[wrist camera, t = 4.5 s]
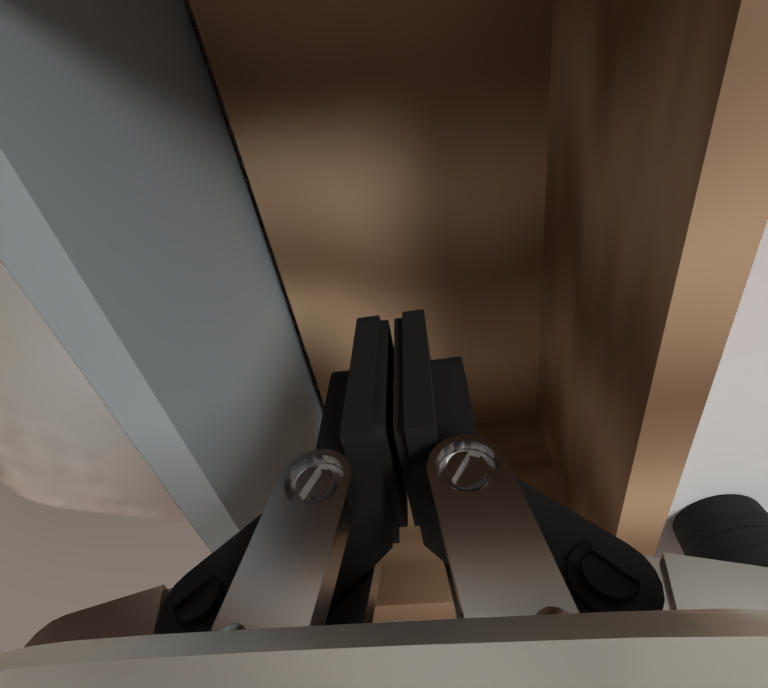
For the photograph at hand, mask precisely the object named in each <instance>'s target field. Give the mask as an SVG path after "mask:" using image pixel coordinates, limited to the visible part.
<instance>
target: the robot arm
mask: <svg viewBox="0 0 768 688" xmlns="http://www.w3.org/2000/svg"><path fill="white" fill-rule="evenodd" d="M407 494H408V499H409V503H410V507H411V512H412V516H413V520H414V525H415V526H420V530H421V535H422V539H423V544H424V546H426V547H427V548H428V549H429V550H430V551H431V552H433V553H434V554H435V555H436V556H437V557H439V558H440V559H441V560H442V561H443V563H444V568H445V573H446V577H447V581H448V585H449V589H450V593H451V597H452V601H453V605H454V610H455V614H456V618H457V619H441V620H421V621H401V622H381V623H372V622H373V616H374V610H375V605H376V599H377V593H378V588H379V582H380V576H381V565H382V562H381V559H382V558H383V557H384V556H385V555H386V554H387V553H388V552H389V551H390V550H391V549H392V548H393V543H399V528H400V527H407V526H408V499H407ZM0 688H768V567H762V566H755V565H748V564H741V563H734V562H727V561H720V560H713V559H706V558H699V557H693V556H686V555H679V554H672V553H665V552H663V554H662V557H661V558H658V557H651V556H644V555H643V554H641V553H640V552H639V551H637V550H636V549H635V548H633V547H632V546H630V545H629V544H628V543H626V542H624V541H622V540H621V539H619V538H617V537H616V536H614V535H612V534H611V533H609V532H607V531H605V530H604V529H602V528H600V527H599V526H597V525H595V524H594V523H592V522H590V521H589V520H587V519H585V518H583V517H582V516H580V515H578V514H577V513H575V512H573V511H572V510H570V509H568V508H566V507H565V506H563V505H561V504H560V503H558V502H556V501H555V500H553V499H551V498H549V497H548V496H546V495H544V494H543V493H541V492H539V491H538V490H536V489H534V488H533V487H531V486H529V485H527V484H526V483H524V482H522V481H521V480H519V479H517V478H516V477H515V474H514V472H513V470H512V468H511V466H510V464H509V462H508V459H507V457H506V455H505V454H504V453H503V451H502V450H501V448H500V447H499V446H497V445H496V444H495V443H494V442H492V441H491V440H489V439H486V438H484V437H481V436H478V433H477V429H476V424H475V419H474V414H473V409H472V404H471V399H470V395H469V390H468V385H467V380H466V375H465V370H464V365H463V361H462V357H461V356H460V357H452V358H444V359H436V360H431V356H430V349H429V342H428V335H427V328H426V321H425V314H424V309H420V310H412V311H405V312H402V318H396V319H394V345H393V340H392V335H391V330H390V325H389V321H388V320H381V319H380V316H379V315H376V316H369V317H361V318H357V321H356V328H355V335H354V341H353V348H352V355H351V361H350V368H349V370H346V371H338V372H333V373H332V374H331V377H330V381H329V386H328V391H327V395H326V400H325V405H324V410H323V415H322V420H321V425H320V430H319V435H318V440H317V444H316V449H315V450H312V451H309V452H306V453H303V454H302V455H300V456H298V457H297V458H295V459H293V460H292V461H291V462H290V463H289V464H288V465H287V466H286V467H285V468H284V469H283V471H282V473H281V474H280V476H279V478H278V480H277V482H276V484H275V487H274V489H273V491H272V493H271V496H270V498H269V500H268V502H267V505H266V507H265V509H264V511H263V513H262V514H260V515H259V516H258V517H257V518H255V519H254V520H253V521H252V522H250V523H249V524H248V525H247V526H245V527H244V528H243V529H242V530H240V531H239V532H238V533H237V534H235V535H234V536H233V537H232V538H230V539H229V540H228V541H227V542H225V543H224V544H223V545H222V546H221V547H219V548H218V549H217V550H216V551H214V552H213V553H212V554H211V555H209V556H208V557H207V558H206V559H204V560H203V561H202V562H201V563H199V564H198V565H197V566H196V567H194V568H193V569H192V570H191V571H189V572H188V573H187V574H186V575H185V576H184V577H183V578H182V579H181V580H180V581H179V582H178V583H176V584H175V586H174V587H173V588H171V589H167V588H166V587H165V586H164V585H161V586H158V587H155V588H151V589H148V590H145V591H142V592H139V593H135V594H132V595H129V596H126V597H122V598H119V599H116V600H112V601H109V602H106V603H102V604H99V605H96V606H92V607H89V608H86V609H83V610H79V611H76V612H73V613H70V614H66V615H64V616H62V617H60V618H57V619H55V620H53V621H51V622H50V623H48V624H47V625H46V626H45V627H43V628H42V629H41V630H39V631H38V632H37V633H36V634H35V635H34V636H33V637H32V638H31V639H30V641H29V642H28V643H27V644H26V645H25V646H24V647H23V648H20V649H16V650H11V651H7V652H2V653H0Z"/></svg>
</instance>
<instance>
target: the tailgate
mask: <svg viewBox="0 0 768 688" xmlns="http://www.w3.org/2000/svg"><path fill="white" fill-rule="evenodd" d="M0 260H1V262H2V263H3V264H4V266H5V267H6V268H7V270H8V271H9V273H10V274H11V275H12V277H13V278H14V280H15V281H16V282H17V284H18V285H19V286H20V288H21V289H22V291H23V292H24V293H25V295H26V296H27V298H28V299H29V300H30V302H31V303H32V304H33V306H34V307H35V309H36V310H37V311H38V313H39V314H40V315H41V317H42V318H43V320H44V321H45V322H46V324H47V325H48V327H49V328H50V329H51V331H52V332H53V333H54V335H55V336H56V338H57V339H58V340H59V342H60V343H61V345H62V346H63V347H64V349H65V350H66V351H67V353H68V354H69V356H70V357H71V358H72V360H73V361H74V363H75V364H76V365H77V367H78V368H79V369H80V371H81V372H82V374H83V375H84V376H85V378H86V379H87V381H88V382H89V383H90V385H91V386H92V387H93V389H94V390H95V392H96V393H97V394H98V396H99V397H100V399H101V400H102V401H103V403H104V404H105V405H106V407H107V408H108V410H109V411H110V412H111V414H112V415H113V417H114V418H115V419H116V421H117V422H118V423H119V425H120V426H121V428H122V429H123V430H124V432H125V433H126V435H127V436H128V437H129V439H130V440H131V441H132V443H133V444H134V446H135V447H136V448H137V450H138V451H139V453H140V454H141V455H142V457H143V458H144V459H145V461H146V462H147V464H148V465H149V466H150V468H151V469H152V471H153V472H154V473H155V475H156V476H157V477H158V479H159V480H160V482H161V483H162V484H163V486H164V487H165V489H166V490H167V491H168V493H169V494H170V495H171V497H172V498H173V500H174V501H175V502H176V504H177V505H178V507H179V508H180V509H181V511H182V512H183V513H184V515H185V516H186V518H187V519H188V520H189V522H190V523H191V525H192V526H193V527H194V529H195V530H196V531H197V533H198V534H199V535H200V537H201V538H202V540H203V541H204V543H205V544H206V545H207V547H208V548H209V549H210V551H211V552H212V553H213V552H214V551H216V550H217V549H218V548H219V547H221V546H222V545H223V544H224V543H225V542H227V541H228V540H229V539H230V538H232V537H233V536H234V535H235V534H237V533H238V532H239V531H240V530H242V529H243V528H244V527H245V526H247V525H248V524H249V523H250V522H252V521H253V520H254V519H255V518H257V517H258V516H259V515H260V514H262V513H263V511H264V509H265V507H266V505H267V502H268V500H269V498H270V496H271V493H272V491H273V489H274V487H275V484H276V482H277V480H278V478H279V476H280V474H281V473H282V471H283V469H284V468H285V467H286V466H287V465H288V464H289V463H290V462H291V461H292V460H293V459H295V458H297V457H298V456H300V455H302V454H303V453H306V452H309V451H312V450H315V449H316V444H317V440H318V435H319V430H320V425H321V420H322V415H323V408H322V405H321V402H320V400H319V397H318V394H317V391H316V388H315V385H314V382H313V379H312V376H311V373H310V370H309V367H308V364H307V361H306V358H305V355H304V353H303V350H302V347H301V344H300V341H299V338H298V335H297V332H296V329H295V326H294V323H293V320H292V317H291V314H290V311H289V308H288V306H287V303H286V300H285V297H284V294H283V291H282V288H281V285H280V282H279V279H278V276H277V273H276V270H275V267H274V264H273V261H272V259H271V256H270V253H269V250H268V247H267V244H266V241H265V238H264V235H263V232H262V229H261V226H260V223H259V220H258V217H257V214H256V212H255V209H254V206H253V203H252V200H251V197H250V194H249V191H248V188H247V185H246V182H245V179H244V176H243V173H242V170H241V167H240V165H239V162H238V159H237V156H236V153H235V150H234V147H233V144H232V141H231V138H230V135H229V132H228V129H227V126H226V123H225V120H224V118H223V115H222V112H221V109H220V106H219V103H218V100H217V97H216V94H215V91H214V88H213V85H212V82H211V79H210V76H209V73H208V71H207V68H206V65H205V62H204V59H203V56H202V53H201V50H200V47H199V44H198V41H197V38H196V35H195V32H194V29H193V26H192V24H191V21H190V18H189V15H188V12H187V9H186V6H185V3H184V0H0Z"/></svg>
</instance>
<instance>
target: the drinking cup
mask: <svg viewBox="0 0 768 688" xmlns="http://www.w3.org/2000/svg"><path fill="white" fill-rule="evenodd" d="M673 530H674V532H675V535H676V537H677V539H678V541H679V543H680V545H681V548H682V550H683V552H684V554H685V555H686V556H693V557H699V558H706V559H713V560H720V561H727V562H734V563H741V564H748V565H755V566H762V567H768V513H767V512H766V511H765V510H764V508H763V507H762V506H761V505H760V504H759V503H758V502H757V501H755V500H754V499H752V498H750V497H747V496H743V495H721V496H715V497H711V498H707V499H704V500H701V501H699V502H697V503H694V504H692V505H691V506H689V507H687V508H686V509H684V510H683V511H682V512H681V513H680V514H679V515H678V516H677V517H676V519H675V521H674V523H673Z"/></svg>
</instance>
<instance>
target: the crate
mask: <svg viewBox="0 0 768 688" xmlns="http://www.w3.org/2000/svg"><path fill="white" fill-rule="evenodd" d="M189 3H190V6H191V9H192V12H193V15H194V18H195V21H196V24H197V27H198V30H199V33H200V36H201V39H202V42H203V45H204V48H205V51H206V54H207V57H208V60H209V63H210V66H211V69H212V72H213V75H214V78H215V81H216V84H217V87H218V90H219V93H220V96H221V99H222V102H223V105H224V108H225V110H226V113H227V116H228V119H229V122H230V125H231V128H232V131H233V134H234V137H235V140H236V143H237V146H238V149H239V152H240V155H241V158H242V161H243V164H244V167H245V170H246V173H247V176H248V179H249V182H250V185H251V188H252V191H253V194H254V197H255V200H256V203H257V206H258V209H259V212H260V215H261V218H262V221H263V224H264V227H265V230H266V233H267V236H268V239H269V242H270V245H271V248H272V251H273V254H274V257H275V260H276V263H277V266H278V269H279V272H280V275H281V277H282V280H283V283H284V286H285V289H286V292H287V295H288V298H289V301H290V304H291V307H292V310H293V313H294V316H295V319H296V322H297V325H298V328H299V331H300V334H301V337H302V340H303V343H304V346H305V349H306V352H307V355H308V358H309V361H310V364H311V367H312V370H313V373H314V376H315V379H316V382H317V385H318V388H319V391H320V394H321V397H322V400H323V403H324V405H325V400H326V395H327V391H328V386H329V381H330V377H331V374H332V373H333V372H338V371H346V370H349V368H350V361H351V355H352V348H353V341H354V335H355V328H356V321H357V318H361V317H369V316H376V315H379V316H380V319H381V320H388V321H389V325H390V330H391V335H392V340H393V345H394V319H396V318H402V312H405V311H412V310H420V309H424V314H425V321H426V328H427V335H428V342H429V349H430V356H431V360H436V359H444V358H452V357H460V356H461V357H462V361H463V365H464V370H465V375H466V380H467V385H468V390H469V395H470V399H471V404H472V409H473V414H474V419H475V424H476V429H477V433H478V436H481V437H484V438H486V439H489V440H491V441H492V442H494V443H495V444H496V445H497V446H499V447H500V448H501V450H502V451H503V453H504V454H505V455H506V457H507V459H508V462H509V464H510V466H511V468H512V470H513V472H514V474H515V477H516V478H517V479H519V480H521V481H522V482H524V483H526V484H527V485H529V486H531V487H533V488H534V489H536V490H538V491H539V492H541V493H543V494H544V495H546V496H548V497H549V498H551V499H553V500H555V501H556V502H558V503H560V504H561V505H563V506H565V507H566V508H568V509H570V510H572V511H573V512H575V513H577V514H578V515H580V516H582V517H583V518H585V519H587V520H589V521H590V522H592V523H594V524H595V525H597V526H599V527H600V528H602V529H604V530H605V531H607V532H609V533H611V534H612V535H614V536H616V537H617V538H619V539H621V540H622V541H624V542H626V543H628V544H629V545H630V546H632V547H633V548H635V549H636V550H637V551H639V552H640V553H641V554H643V555H644V556H651V557H654V555H655V552H656V549H657V546H658V543H659V540H660V537H661V534H662V531H663V528H664V525H665V522H666V519H667V516H668V513H669V510H670V507H671V504H672V501H673V498H674V495H675V493H676V490H677V487H678V484H679V481H680V478H681V475H682V472H683V469H684V466H685V463H686V460H687V457H688V454H689V451H690V448H691V445H692V442H693V439H694V436H695V433H696V430H697V427H698V424H699V421H700V418H701V415H702V412H703V410H704V407H705V404H706V401H707V398H708V395H709V392H710V389H711V386H712V383H713V380H714V377H715V374H716V371H717V368H718V365H719V362H720V359H721V356H722V353H723V350H724V347H725V344H726V341H727V338H728V335H729V332H730V329H731V326H732V324H733V321H734V318H735V315H736V312H737V309H738V306H739V303H740V300H741V297H742V294H743V291H744V288H745V285H746V282H747V279H748V276H749V273H750V270H751V267H752V264H753V261H754V258H755V255H756V252H757V249H758V246H759V243H760V241H761V238H762V235H763V232H764V229H765V226H766V223H767V220H768V0H189ZM407 499H408V494H407ZM381 562H382V565H381V576H380V582H379V588H378V593H377V599H376V605H375V610H374V616H373V622H372V623H374V622H394V621H415V620H435V619H455V618H456V614H455V610H454V605H453V601H452V597H451V593H450V589H449V585H448V581H447V577H446V573H445V568H444V563H443V561H442V560H441V559H440V558H439V557H437V556H436V555H435V554H434V553H433V552H431V551H430V550H429V549H428V548H427V547H426V546H424V544H423V539H422V535H421V530H420V526H415V525H414V520H413V516H412V512H411V507H410V503H409V499H408V526H407V527H400V528H399V543H393V548H392V549H391V550H390V551H389V552H388V553H387V554H386V555H385V556H384V557H383V558H382V559H381Z"/></svg>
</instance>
